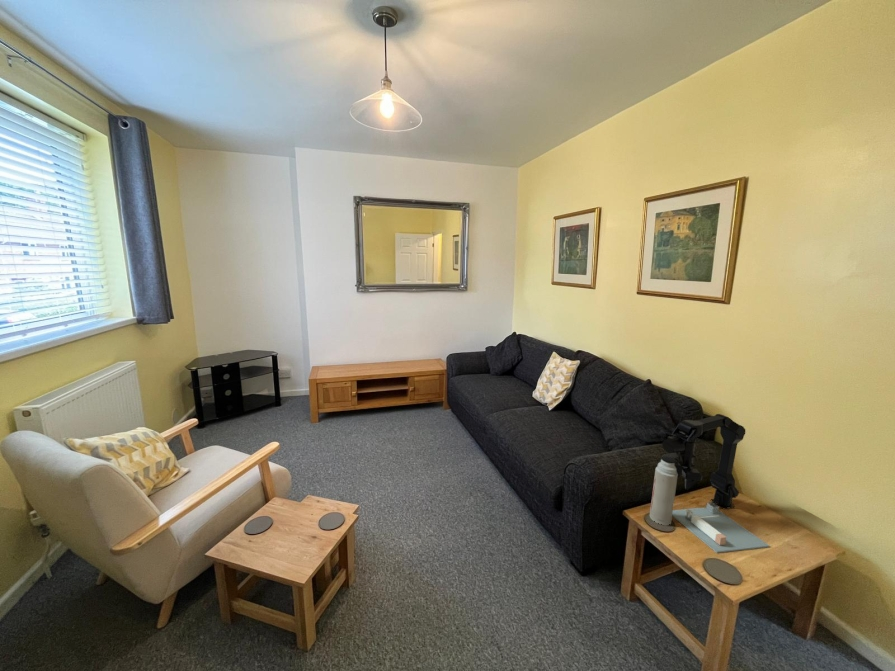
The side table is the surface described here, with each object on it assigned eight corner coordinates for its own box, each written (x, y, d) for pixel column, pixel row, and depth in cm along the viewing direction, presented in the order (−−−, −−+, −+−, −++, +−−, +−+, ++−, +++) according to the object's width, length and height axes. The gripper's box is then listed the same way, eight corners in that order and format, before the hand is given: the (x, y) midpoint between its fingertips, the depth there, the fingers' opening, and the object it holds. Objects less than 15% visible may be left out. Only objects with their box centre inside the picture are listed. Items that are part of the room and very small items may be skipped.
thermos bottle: (647, 518, 149) (654, 458, 145) (652, 510, 155) (660, 451, 151) (668, 528, 144) (676, 465, 140) (673, 519, 149) (681, 458, 145)
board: (713, 507, 158) (713, 506, 158) (769, 547, 135) (769, 545, 135) (667, 511, 154) (667, 510, 154) (716, 552, 131) (716, 551, 131)
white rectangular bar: (690, 522, 147) (691, 515, 146) (696, 521, 147) (697, 515, 147) (719, 545, 134) (720, 537, 133) (725, 544, 134) (726, 537, 134)
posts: (710, 509, 157) (711, 501, 156) (718, 514, 154) (719, 506, 153) (681, 517, 151) (682, 508, 150) (689, 522, 148) (690, 513, 147)
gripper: (657, 438, 161) (653, 470, 164) (674, 458, 143) (670, 493, 146) (684, 441, 159) (680, 472, 161) (705, 461, 141) (700, 496, 143)
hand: (681, 483), depth 153 cm, fingers open, 9 cm apart
